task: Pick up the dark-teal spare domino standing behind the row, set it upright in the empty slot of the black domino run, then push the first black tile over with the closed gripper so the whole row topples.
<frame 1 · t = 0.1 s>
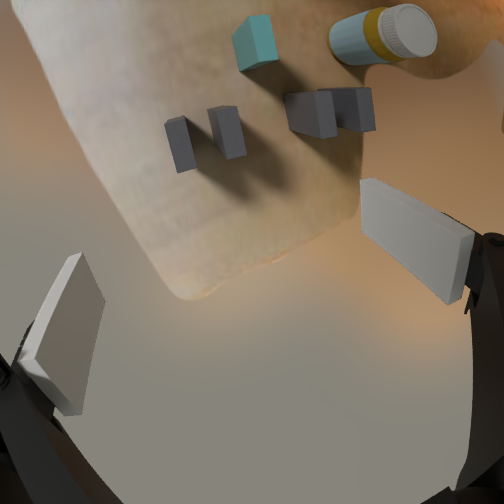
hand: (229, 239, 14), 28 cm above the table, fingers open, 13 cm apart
spare domino: (243, 52, 33), on the table
domino 1: (180, 136, 37), on the table
bottle: (346, 43, 35), on the table
domino 2: (219, 126, 37), on the table
domino 4: (293, 110, 38), on the table
domino 5: (326, 105, 39), on the table
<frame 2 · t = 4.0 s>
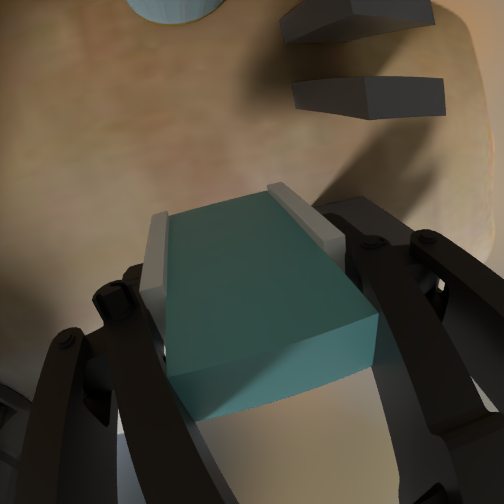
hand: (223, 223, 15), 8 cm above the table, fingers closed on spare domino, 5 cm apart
spare domino: (222, 221, 16), point 8 cm above the table, touching gripper
domino 2: (337, 213, 25), on the table
domino 4: (325, 92, 21), on the table
domino 5: (314, 30, 18), on the table
when the fingers open (0 cm above the table, at t = 7.6 s): spare domino stays where it is, on the table.
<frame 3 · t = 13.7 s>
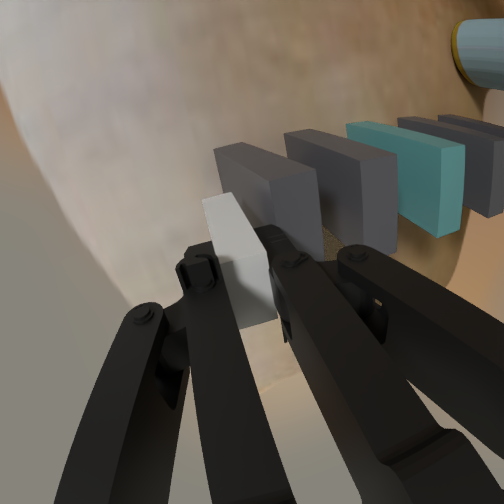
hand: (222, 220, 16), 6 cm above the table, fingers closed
spare domino: (360, 153, 23), on the table
domino 1: (235, 180, 21), on the table, tilted 6°, touching gripper
bottle: (467, 52, 20), on the table
domino 2: (302, 164, 22), on the table
domino 4: (408, 145, 23), on the table
domino 5: (445, 140, 24), on the table
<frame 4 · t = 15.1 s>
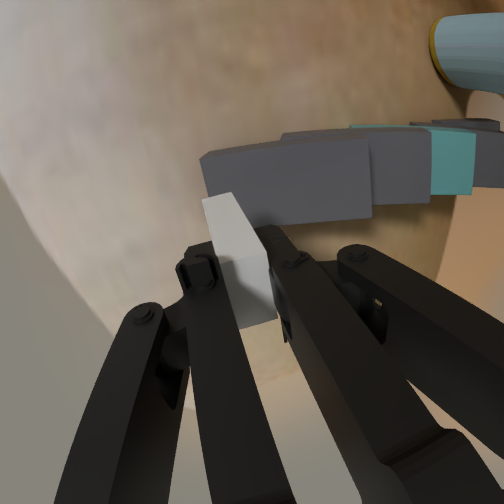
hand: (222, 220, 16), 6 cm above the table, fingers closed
spare domino: (353, 159, 22), point 1 cm above the table, tilted 69°, touching domino 2, domino 4
domino 1: (213, 191, 20), point 1 cm above the table, tilted 67°, touching domino 2
bottle: (448, 51, 20), on the table
domino 2: (286, 171, 21), point 1 cm above the table, tilted 67°, touching domino 1, spare domino
domino 4: (413, 153, 22), point 1 cm above the table, tilted 68°, touching spare domino
domino 5: (435, 147, 23), on the table, tilted 90°
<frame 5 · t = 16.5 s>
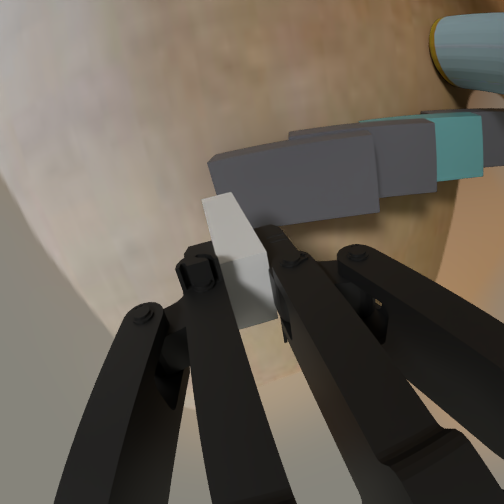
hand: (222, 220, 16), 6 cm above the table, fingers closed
spare domino: (366, 155, 22), point 1 cm above the table, tilted 69°
domino 1: (221, 193, 21), point 1 cm above the table, tilted 69°, touching domino 2
bottle: (448, 51, 20), on the table
domino 2: (295, 169, 21), point 1 cm above the table, tilted 69°, touching domino 1
domino 4: (428, 141, 22), point 1 cm above the table, tilted 70°, touching domino 5
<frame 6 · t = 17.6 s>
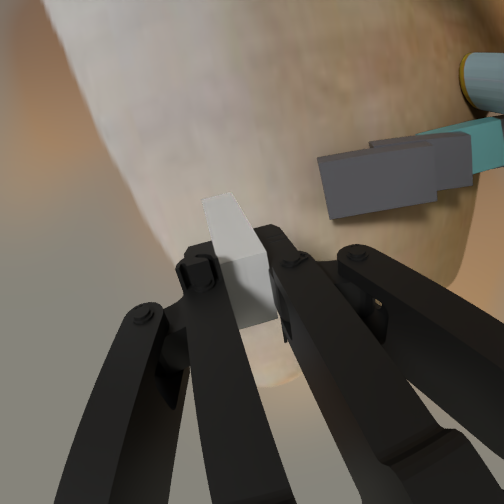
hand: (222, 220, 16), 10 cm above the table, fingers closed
spare domino: (424, 159, 27), point 1 cm above the table, tilted 69°, touching domino 4
domino 1: (323, 188, 26), point 1 cm above the table, tilted 69°, touching domino 2
bottle: (472, 80, 25), on the table
domino 2: (375, 170, 26), point 1 cm above the table, tilted 69°, touching domino 1
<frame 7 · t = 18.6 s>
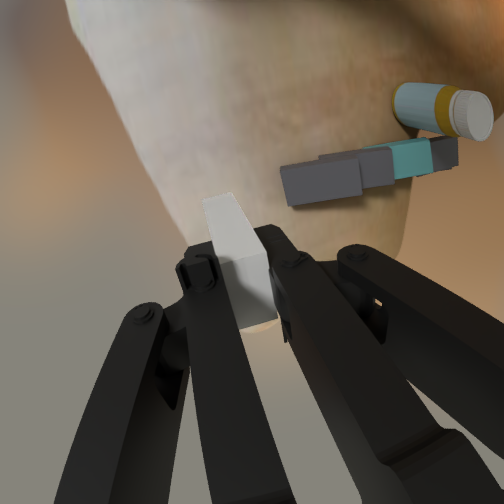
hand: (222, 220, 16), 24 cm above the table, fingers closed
spare domino: (366, 165, 42), point 1 cm above the table, tilted 67°, touching domino 2, domino 4
domino 1: (284, 186, 41), point 1 cm above the table, tilted 69°
bottle: (405, 104, 40), on the table
domino 2: (322, 174, 41), point 1 cm above the table, tilted 71°, touching spare domino
domino 4: (412, 159, 41), point 2 cm above the table, tilted 90°, touching domino 5, spare domino
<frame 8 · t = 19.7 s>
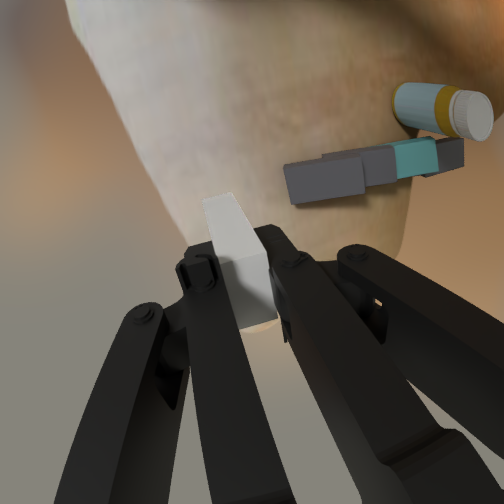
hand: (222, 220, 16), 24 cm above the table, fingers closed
spare domino: (373, 164, 42), point 1 cm above the table, tilted 67°, touching domino 2
domino 1: (287, 184, 41), point 1 cm above the table, tilted 69°, touching domino 2
bottle: (405, 103, 40), on the table
domino 2: (325, 173, 41), point 1 cm above the table, tilted 73°, touching domino 1, spare domino
domino 4: (420, 160, 42), point 2 cm above the table, tilted 90°, touching domino 5
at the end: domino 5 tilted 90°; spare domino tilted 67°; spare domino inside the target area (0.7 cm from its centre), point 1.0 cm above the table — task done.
